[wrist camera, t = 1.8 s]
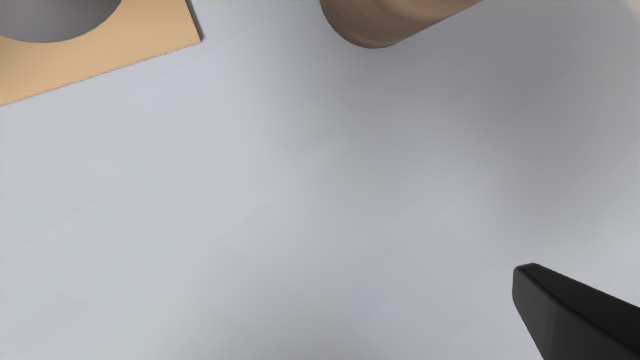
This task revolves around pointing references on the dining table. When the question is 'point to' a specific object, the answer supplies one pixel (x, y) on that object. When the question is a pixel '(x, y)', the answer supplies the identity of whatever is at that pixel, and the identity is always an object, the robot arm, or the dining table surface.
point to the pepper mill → (387, 18)
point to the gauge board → (83, 40)
